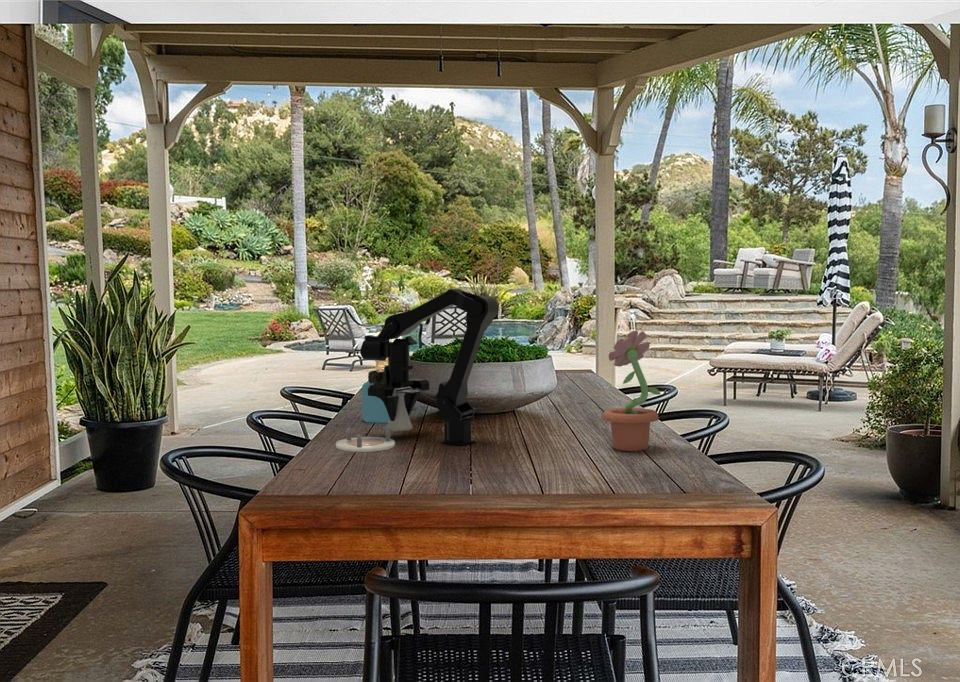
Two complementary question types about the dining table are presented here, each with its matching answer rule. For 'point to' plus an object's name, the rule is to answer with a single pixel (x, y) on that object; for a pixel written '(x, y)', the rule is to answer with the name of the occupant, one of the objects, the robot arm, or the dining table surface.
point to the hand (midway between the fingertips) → (399, 419)
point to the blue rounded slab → (373, 407)
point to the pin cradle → (365, 443)
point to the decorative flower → (629, 421)
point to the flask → (400, 416)
